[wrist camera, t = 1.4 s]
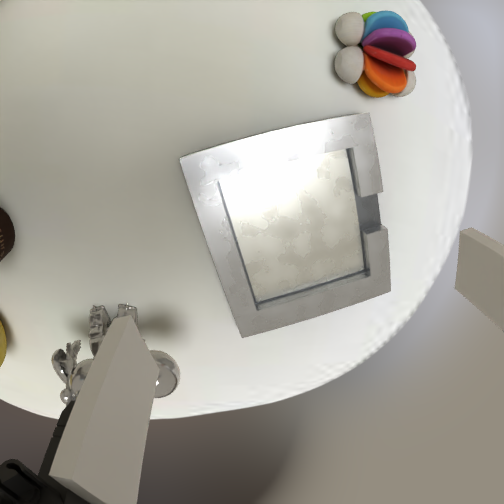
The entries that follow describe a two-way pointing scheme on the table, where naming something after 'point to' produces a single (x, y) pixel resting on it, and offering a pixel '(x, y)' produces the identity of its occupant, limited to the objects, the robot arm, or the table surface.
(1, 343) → the fruit
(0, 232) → the coffee mug
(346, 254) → the plate
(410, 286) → the table surface
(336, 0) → the table surface
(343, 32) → the colorful rounded-lobe toy
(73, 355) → the robot toy
